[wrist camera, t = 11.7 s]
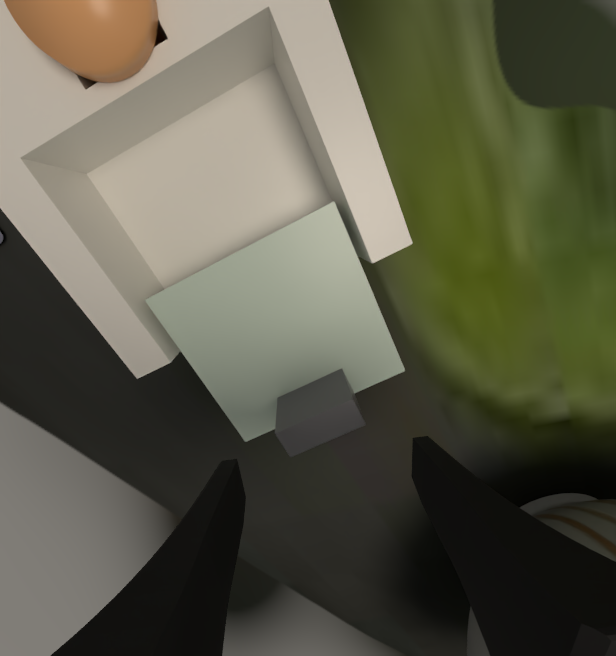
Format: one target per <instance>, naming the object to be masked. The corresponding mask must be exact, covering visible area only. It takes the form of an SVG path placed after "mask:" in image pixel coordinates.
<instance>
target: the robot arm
mask: <svg viewBox="0 0 616 656" xmlns="http://www.w3.org/2000/svg"><path fill="white" fill-rule="evenodd" d="M2 241H3V235H2V233H1V231H0V244H1V243H2ZM412 478H413V481H414V484H415V487H416V489H417V492H418V494H419V497H420V500H421V502H422V504H423V506H424V508H425V510H426V512H427V514H428V516H429V518H430V520H431V522H432V524H433V526H434V528H435V530H436V532H437V534H438V536H439V538H440V540H441V542H442V544H443V546H444V548H445V550H446V552H447V554H448V556H449V558H450V560H451V562H452V564H453V566H454V568H455V570H456V572H457V574H458V577H459V579H460V581H461V584H462V586H463V589H464V591H465V593H466V596H467V598H468V601H469V603H470V606H471V608H472V610H473V613H474V615H475V618H476V621H477V623H478V626H479V628H480V631H481V633H482V636H483V638H484V641H485V643H486V646H487V649H488V651H489V654H490V656H616V562H615V561H613V560H611V559H609V558H607V557H605V556H603V555H601V554H599V553H597V552H595V551H593V550H591V549H589V548H588V547H586V546H584V545H582V544H580V543H578V542H576V541H574V540H573V539H571V538H569V537H567V536H565V535H564V534H562V533H560V532H558V531H557V530H555V529H553V528H552V527H550V526H548V525H546V524H545V523H543V522H541V521H540V520H538V519H536V518H535V517H533V516H531V515H530V514H528V513H527V512H525V511H524V510H522V509H521V508H519V507H518V506H516V505H515V504H513V503H511V502H510V501H509V500H507V499H506V498H504V497H503V496H501V495H500V494H499V493H497V492H496V491H494V490H493V489H492V488H490V487H489V486H488V485H486V484H485V483H484V482H482V481H481V480H480V479H478V478H477V477H476V476H475V475H473V474H472V473H471V472H470V471H468V470H467V469H466V468H465V467H463V466H462V465H461V464H460V463H459V462H457V461H456V460H455V459H454V458H453V457H451V456H450V455H449V454H448V453H447V452H446V451H444V450H443V449H442V448H441V447H440V446H439V445H437V444H436V443H435V442H434V441H433V440H432V439H430V438H429V437H428V436H425V437H416V438H413V452H412ZM245 499H246V496H245V492H244V487H243V483H242V479H241V474H240V470H239V466H238V461H237V459H234V460H226V461H222V462H221V463H220V464H219V466H218V467H217V469H216V470H215V472H214V474H213V475H212V477H211V478H210V480H209V481H208V483H207V484H206V486H205V488H204V489H203V491H202V492H201V494H200V495H199V496H198V498H197V499H196V501H195V502H194V504H193V505H192V507H191V508H190V509H189V511H188V512H187V514H186V515H185V516H184V518H183V519H182V520H181V522H180V523H179V525H178V526H177V527H176V529H175V530H174V531H173V532H172V534H171V535H170V536H169V537H168V539H167V540H166V541H165V542H164V544H163V545H162V546H161V547H160V548H159V550H158V551H157V552H156V553H155V554H154V555H153V557H152V558H151V559H150V560H149V561H148V562H147V564H146V565H145V566H144V567H143V568H142V569H141V570H140V571H139V572H138V573H137V574H136V576H135V577H134V578H133V579H132V580H131V581H130V582H129V583H128V584H127V585H126V586H125V587H124V588H123V589H122V590H121V591H120V593H118V594H117V595H116V596H115V598H114V599H112V600H111V601H110V602H109V603H108V604H107V605H106V606H105V607H104V608H103V609H102V610H101V611H100V612H99V613H98V614H97V615H96V616H95V617H94V618H93V619H91V620H90V621H89V622H88V623H87V624H86V625H85V626H84V627H83V628H82V629H81V630H80V631H78V632H77V634H75V635H74V636H73V637H72V638H71V639H69V640H68V641H67V642H66V643H65V644H64V645H62V646H61V647H60V648H59V649H58V650H57V651H55V652H54V653H53V654H52V655H51V656H222V650H223V641H224V632H225V624H226V616H227V608H228V602H229V595H230V590H231V585H232V579H233V575H234V570H235V565H236V559H237V554H238V549H239V544H240V539H241V534H242V529H243V522H244V512H245Z"/></svg>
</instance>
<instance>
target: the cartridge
mask: <svg viewBox="0 0 616 656" xmlns="http://www.w3.org/2000/svg"><path fill="white" fill-rule="evenodd" d="M145 302H146V303H147V304H148V306H149V307H150V309H151V310H152V311H153V313H154V314H155V316H156V317H157V318H158V320H159V321H160V323H161V324H162V325H163V327H164V328H165V330H166V331H167V332H168V334H169V335H170V337H171V338H172V339H173V341H174V342H175V344H176V345H177V346H178V348H179V349H180V351H181V352H182V354H183V355H184V356H185V358H186V359H187V361H188V362H189V363H190V365H191V366H192V368H193V369H194V370H195V372H196V373H197V375H198V376H199V377H200V379H201V380H202V382H203V383H204V384H205V386H206V387H207V389H208V390H209V391H210V393H211V394H212V396H213V397H214V398H215V400H216V401H217V403H218V404H219V406H220V407H221V408H222V410H223V411H224V413H225V414H226V415H227V417H228V418H229V420H230V421H231V422H232V424H233V425H234V427H235V428H236V429H237V431H238V432H239V434H240V435H241V436H242V438H243V439H244V441H245V442H247V441H249V440H251V439H253V438H256V437H258V436H260V435H262V434H265V433H267V432H269V431H271V430H273V429H275V435H276V436H277V438H278V439H279V441H280V442H281V444H282V445H283V447H284V448H285V450H286V451H287V453H288V454H289V456H290V457H292V456H295V455H297V454H299V453H302V452H304V451H306V450H309V449H311V448H313V447H315V446H318V445H320V444H322V443H325V442H327V441H329V440H332V439H334V438H336V437H339V436H341V435H343V434H346V433H348V432H350V431H352V430H355V429H357V428H359V427H362V426H364V425H366V423H365V421H364V418H363V415H362V413H361V410H360V407H359V405H358V402H357V399H356V397H355V394H354V393H356V392H359V391H361V390H363V389H365V388H368V387H370V386H372V385H374V384H377V383H379V382H381V381H383V380H386V379H388V378H390V377H392V376H395V375H397V374H399V373H401V372H403V371H405V369H404V367H403V364H402V362H401V359H400V357H399V355H398V352H397V350H396V348H395V345H394V343H393V340H392V338H391V336H390V333H389V331H388V328H387V326H386V324H385V321H384V319H383V316H382V314H381V312H380V309H379V307H378V304H377V302H376V300H375V297H374V295H373V292H372V290H371V288H370V285H369V283H368V280H367V278H366V276H365V273H364V271H363V269H362V266H361V264H360V261H359V259H358V257H357V254H356V252H355V249H354V247H353V245H352V242H351V240H350V237H349V235H348V233H347V230H346V228H345V225H344V223H343V221H342V218H341V216H340V213H339V211H338V209H337V206H336V204H335V201H334V202H332V203H329V204H327V205H325V206H324V207H322V208H320V209H318V210H316V211H314V212H312V213H310V214H308V215H306V216H304V217H302V218H301V219H299V220H297V221H295V222H293V223H291V224H289V225H287V226H285V227H283V228H281V229H279V230H278V231H276V232H274V233H272V234H270V235H268V236H266V237H264V238H262V239H260V240H258V241H256V242H255V243H253V244H251V245H249V246H247V247H245V248H243V249H241V250H239V251H237V252H235V253H233V254H232V255H230V256H228V257H226V258H224V259H222V260H220V261H218V262H216V263H214V264H212V265H210V266H209V267H207V268H205V269H203V270H201V271H199V272H197V273H195V274H193V275H191V276H189V277H187V278H186V279H184V280H182V281H180V282H178V283H176V284H174V285H172V286H170V287H168V288H166V289H165V290H163V291H161V292H159V293H157V294H155V295H153V296H151V297H150V298H148V299H146V300H145Z"/></svg>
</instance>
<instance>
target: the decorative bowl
mask: <svg viewBox="0 0 616 656" xmlns="http://www.w3.org/2000/svg"><path fill="white" fill-rule="evenodd" d="M520 508H521V509H522V510H524V511H525V512H527V513H528V514H530V515H531V516H533V517H535V518H536V519H538V520H540V521H541V522H543V523H545V524H546V525H548V526H550V527H552V528H553V529H555V530H557V531H558V532H560V533H562V534H564V535H565V536H567V537H569V538H571V539H573V540H574V541H576V542H578V543H580V544H582V545H584V546H586V547H588V548H589V549H591V550H593V551H595V552H597V553H599V554H601V555H603V556H605V557H607V558H609V559H611V560H613V561H615V562H616V499H604V500H598V499H596V498H594V497H591V496H588V495H584V494H578V493H562V494H555V495H550V496H546V497H542V498H539V499H537V500H534V501H531V502H529V503H527V504H525V505H523V506H521V507H520ZM467 656H490V654H489V651H488V649H487V646H486V643H485V641H484V638H483V636H482V633H481V631H480V628H479V626H478V623H477V621H476V618H475V615H474V613H473V610H472V608H471V607H470V613H469V620H468V633H467Z"/></svg>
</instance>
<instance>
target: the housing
mask: <svg viewBox="0 0 616 656" xmlns="http://www.w3.org/2000/svg"><path fill="white" fill-rule="evenodd" d="M156 3H157V10H158V29H159V31H160V32H161V34H162V35H163V36H164V38H165V41H163V42H162V43H160V44H158V45H157V46H155V47H154V48H153V50H152V52H151V54H150V56H149V58H148V60H147V61H146V63H145V64H144V65H143V67H142V68H141V69H140V70H139V71H138V72H136V73H135V74H133V75H132V76H130V77H128V78H126V79H124V80H121V81H117V82H98V81H93V80H89V79H86V78H84V77H82V76H80V75H77V74H76V73H74V72H72V71H71V70H69V69H68V68H66V67H65V66H63V65H62V64H60V63H59V62H58V61H56V60H55V59H53V58H52V57H50V56H49V55H47V54H46V53H45V52H43V51H42V50H41V49H40V48H38V47H37V46H36V45H35V44H34V43H33V42H32V41H31V40H30V39H29V38H28V37H27V36H26V34H25V33H24V32H23V31H22V30H21V28H20V27H19V26H18V24H17V23H16V21H15V20H14V18H13V17H12V15H11V13H10V12H9V10H8V8H7V6H6V4H5V2H4V0H0V208H1V210H2V211H3V212H4V213H5V214H6V216H7V217H8V218H9V219H10V221H11V222H12V223H13V224H14V226H15V227H16V228H17V229H18V231H19V232H20V233H21V234H22V236H23V237H24V238H25V239H26V241H27V242H28V243H29V244H30V246H31V247H32V248H33V249H34V251H35V252H36V253H37V254H38V256H39V257H40V258H41V259H42V261H43V262H44V263H45V264H46V266H47V267H48V268H49V269H50V271H51V272H52V273H53V274H54V276H55V277H56V278H57V279H58V281H59V282H60V283H61V284H62V286H63V287H64V288H65V289H66V291H67V292H68V293H69V294H70V296H71V297H72V298H73V299H74V301H75V302H76V303H77V304H78V306H79V307H80V308H81V309H82V311H83V312H84V313H85V314H86V316H87V317H88V318H89V319H90V321H91V322H92V323H93V324H94V326H95V327H96V328H97V329H98V331H99V332H100V333H101V334H102V336H103V337H104V338H105V339H106V341H107V342H108V343H109V344H110V346H111V347H112V348H113V349H114V351H115V352H116V353H117V354H118V356H119V357H120V358H121V359H122V361H123V362H124V363H125V364H126V366H127V367H128V368H129V369H130V371H131V372H132V373H133V374H134V376H135V377H136V378H137V379H138V378H140V377H142V376H144V375H146V374H148V373H150V372H152V371H154V370H157V369H159V368H161V367H163V366H165V365H167V364H169V363H171V362H172V360H173V359H174V358H175V357H176V356H177V355H178V353H179V352H180V349H179V348H178V346H177V345H176V344H175V342H174V341H173V339H172V338H171V337H170V335H169V334H168V332H167V331H166V330H165V328H164V327H163V325H162V324H161V323H160V321H159V320H158V318H157V317H156V316H155V314H154V313H153V311H152V310H151V309H150V307H149V306H148V304H147V303H146V302H145V300H146V299H148V298H150V297H151V296H153V295H155V294H157V293H159V292H161V291H163V290H165V289H166V288H168V287H170V286H172V285H174V284H176V283H178V282H180V281H182V280H184V279H186V278H187V277H189V276H191V275H193V274H195V273H197V272H199V271H201V270H203V269H205V268H207V267H209V266H210V265H212V264H214V263H216V262H218V261H220V260H222V259H224V258H226V257H228V256H230V255H232V254H233V253H235V252H237V251H239V250H241V249H243V248H245V247H247V246H249V245H251V244H253V243H255V242H256V241H258V240H260V239H262V238H264V237H266V236H268V235H270V234H272V233H274V232H276V231H278V230H279V229H281V228H283V227H285V226H287V225H289V224H291V223H293V222H295V221H297V220H299V219H301V218H302V217H304V216H306V215H308V214H310V213H312V212H314V211H316V210H318V209H320V208H322V207H324V206H325V205H327V204H329V203H332V202H334V201H335V204H336V206H337V209H338V211H339V213H340V216H341V218H342V221H343V223H344V225H345V228H346V230H347V233H348V235H349V237H350V240H351V242H352V245H353V247H354V249H355V252H356V254H357V256H359V257H361V258H363V259H365V260H367V261H369V262H371V263H374V262H376V261H378V260H380V259H382V258H384V257H387V256H389V255H391V254H393V253H395V252H397V251H399V250H401V249H403V248H405V247H407V246H409V245H411V244H413V243H412V240H411V237H410V235H409V232H408V229H407V226H406V223H405V220H404V217H403V214H402V211H401V209H400V206H399V203H398V200H397V197H396V194H395V191H394V188H393V185H392V183H391V180H390V177H389V174H388V171H387V168H386V165H385V162H384V159H383V156H382V154H381V151H380V148H379V145H378V142H377V139H376V136H375V133H374V130H373V128H372V125H371V122H370V119H369V116H368V113H367V110H366V107H365V104H364V102H363V99H362V96H361V93H360V90H359V87H358V84H357V81H356V78H355V76H354V73H353V70H352V67H351V64H350V61H349V58H348V55H347V52H346V50H345V47H344V44H343V41H342V38H341V35H340V32H339V29H338V26H337V24H336V21H335V18H334V15H333V12H332V9H331V6H330V3H329V0H156Z"/></svg>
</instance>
